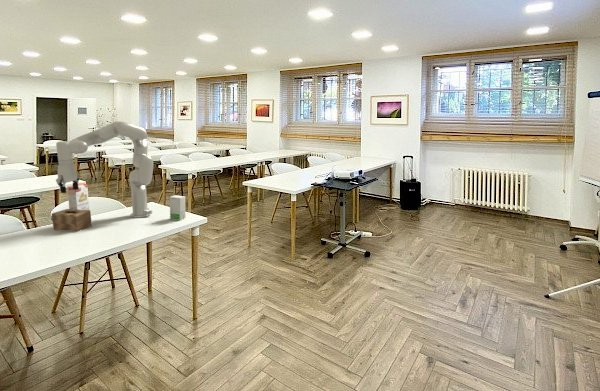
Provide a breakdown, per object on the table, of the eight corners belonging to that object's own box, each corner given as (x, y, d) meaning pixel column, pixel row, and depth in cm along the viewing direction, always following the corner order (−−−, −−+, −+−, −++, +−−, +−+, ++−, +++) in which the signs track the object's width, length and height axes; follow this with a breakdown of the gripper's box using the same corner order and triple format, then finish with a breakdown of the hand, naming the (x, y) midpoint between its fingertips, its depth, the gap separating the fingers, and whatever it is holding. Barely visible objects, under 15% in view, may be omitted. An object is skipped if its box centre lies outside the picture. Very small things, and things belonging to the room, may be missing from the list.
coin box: (91, 226, 231) (90, 210, 229) (77, 231, 220) (75, 215, 218) (68, 224, 234) (67, 208, 232) (53, 229, 222) (51, 213, 220)
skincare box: (169, 219, 250) (168, 196, 246) (175, 217, 256) (174, 194, 253) (180, 220, 247) (179, 197, 244) (186, 218, 253) (185, 195, 250)
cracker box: (78, 217, 250) (75, 186, 245) (69, 217, 250) (66, 186, 245) (90, 212, 263) (87, 183, 259) (82, 212, 263) (79, 182, 259)
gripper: (71, 160, 227) (75, 188, 231) (48, 164, 211) (52, 194, 215) (82, 161, 226) (85, 188, 230) (60, 164, 210) (64, 194, 213)
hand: (69, 191), depth 222 cm, fingers open, 9 cm apart
